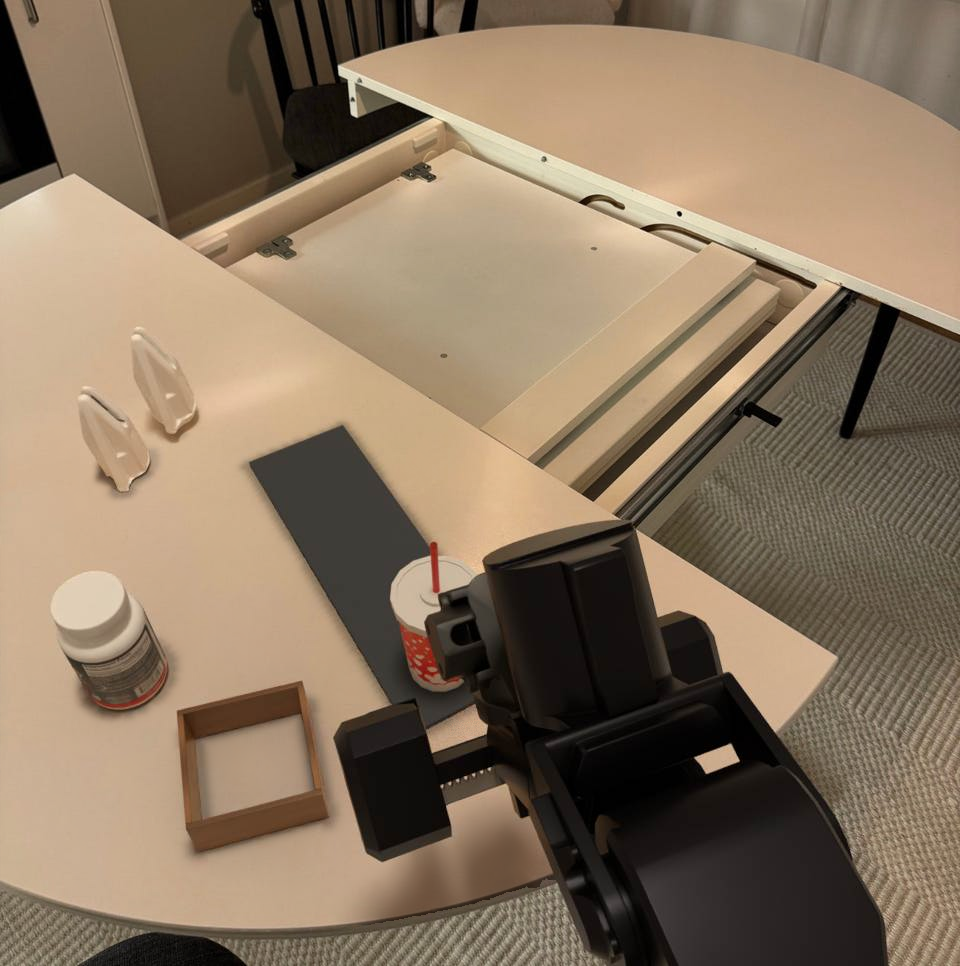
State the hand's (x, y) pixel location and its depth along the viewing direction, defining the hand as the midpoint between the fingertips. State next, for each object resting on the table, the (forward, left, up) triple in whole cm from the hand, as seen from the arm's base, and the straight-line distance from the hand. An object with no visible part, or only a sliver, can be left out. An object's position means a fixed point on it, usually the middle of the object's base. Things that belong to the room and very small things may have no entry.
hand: (493, 689), depth 54 cm
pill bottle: (+15, +23, -14) cm, 31 cm away
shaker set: (+39, +20, -14) cm, 46 cm away
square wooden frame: (+5, +15, -13) cm, 21 cm away
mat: (+21, +4, -13) cm, 25 cm away
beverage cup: (+10, +1, -13) cm, 17 cm away
